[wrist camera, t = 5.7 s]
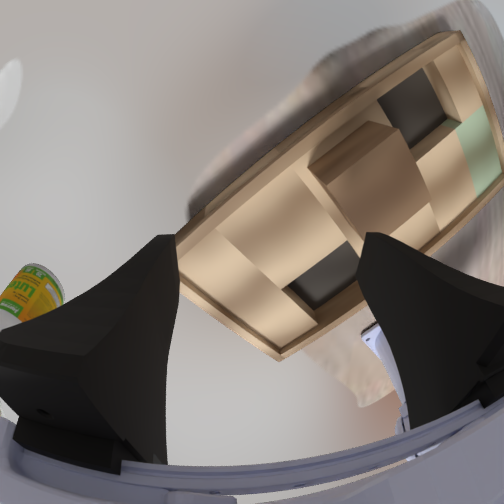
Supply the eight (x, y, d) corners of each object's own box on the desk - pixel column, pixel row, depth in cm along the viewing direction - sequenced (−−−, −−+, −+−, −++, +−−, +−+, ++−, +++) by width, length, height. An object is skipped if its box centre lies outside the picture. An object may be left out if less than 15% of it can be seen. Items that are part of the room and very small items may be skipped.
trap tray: (493, 168, 19) (511, 177, 17) (274, 341, 27) (278, 362, 25) (439, 32, 13) (460, 30, 11) (158, 250, 21) (151, 270, 18)
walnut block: (402, 180, 17) (432, 199, 14) (348, 223, 19) (370, 249, 16) (368, 120, 15) (398, 129, 12) (307, 167, 17) (326, 185, 14)
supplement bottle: (53, 259, 20) (-2, 342, 12) (74, 308, 23) (37, 392, 14) (13, 263, 20) (-40, 335, 11) (34, 308, 22) (-4, 381, 14)
